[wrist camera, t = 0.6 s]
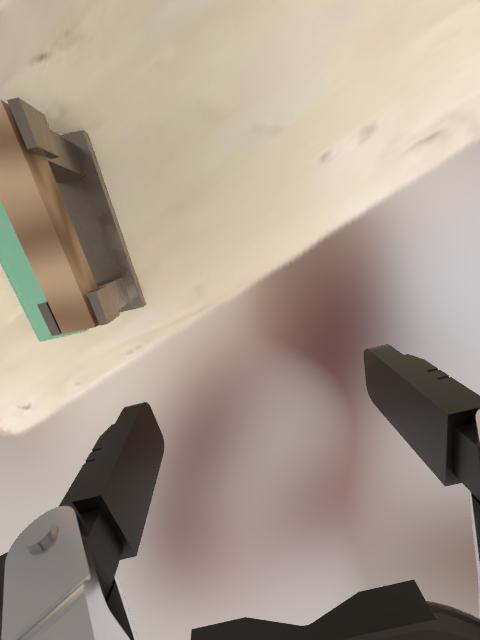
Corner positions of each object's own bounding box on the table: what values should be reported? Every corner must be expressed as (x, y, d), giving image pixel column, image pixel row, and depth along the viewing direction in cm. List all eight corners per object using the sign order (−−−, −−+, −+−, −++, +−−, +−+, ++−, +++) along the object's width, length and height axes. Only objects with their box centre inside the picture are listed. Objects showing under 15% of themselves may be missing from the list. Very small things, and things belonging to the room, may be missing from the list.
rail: (-6, 126, 21) (-42, 109, 18) (30, 118, 21) (0, 99, 18) (80, 323, 26) (62, 334, 24) (109, 317, 26) (95, 327, 24)
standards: (36, 146, 28) (-65, 98, 18) (87, 134, 28) (14, 79, 18) (103, 314, 34) (54, 346, 24) (145, 304, 34) (114, 333, 24)
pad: (-42, 169, 28) (-47, 168, 28) (13, 157, 28) (9, 155, 28) (42, 339, 34) (39, 341, 34) (87, 329, 34) (85, 331, 34)
